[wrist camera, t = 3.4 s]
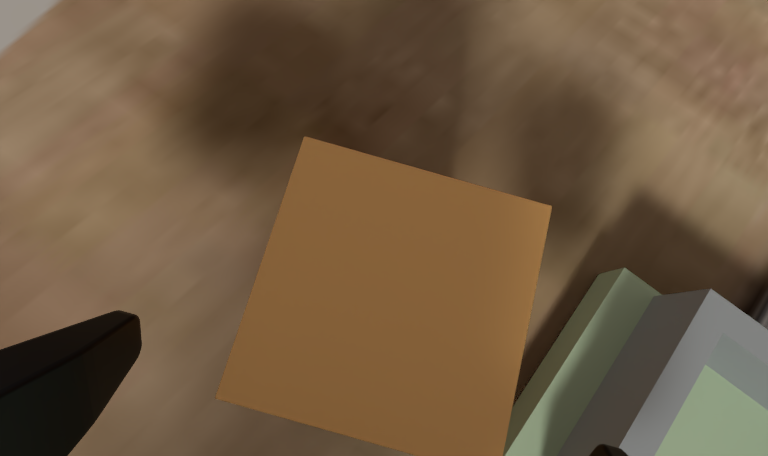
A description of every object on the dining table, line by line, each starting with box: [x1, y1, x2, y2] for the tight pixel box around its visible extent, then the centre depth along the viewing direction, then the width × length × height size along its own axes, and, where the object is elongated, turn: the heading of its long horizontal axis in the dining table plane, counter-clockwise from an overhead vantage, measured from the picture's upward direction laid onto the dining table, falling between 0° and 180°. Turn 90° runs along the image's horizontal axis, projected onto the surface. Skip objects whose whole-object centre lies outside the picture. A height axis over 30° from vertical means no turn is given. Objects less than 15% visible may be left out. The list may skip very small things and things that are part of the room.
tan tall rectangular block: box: [215, 136, 552, 456], centre depth 14 cm, size 4×4×12 cm
